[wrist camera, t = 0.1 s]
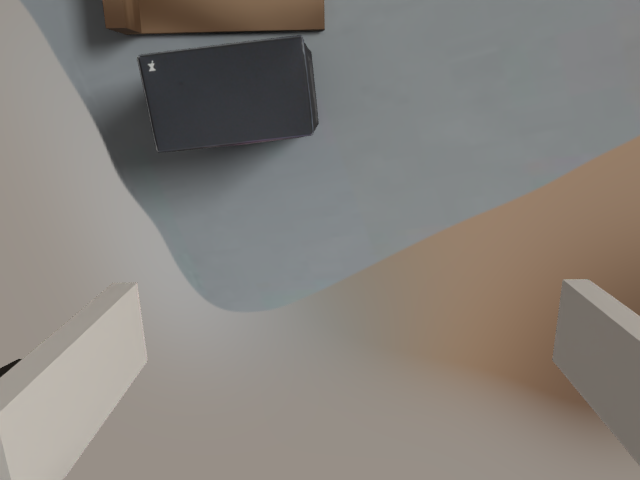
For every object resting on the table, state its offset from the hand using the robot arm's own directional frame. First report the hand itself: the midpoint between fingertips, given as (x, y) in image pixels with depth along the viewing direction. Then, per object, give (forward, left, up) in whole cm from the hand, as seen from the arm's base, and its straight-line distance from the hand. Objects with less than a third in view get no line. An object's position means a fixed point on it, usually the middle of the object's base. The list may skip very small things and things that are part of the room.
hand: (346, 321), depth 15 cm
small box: (-7, -7, -28) cm, 30 cm away
